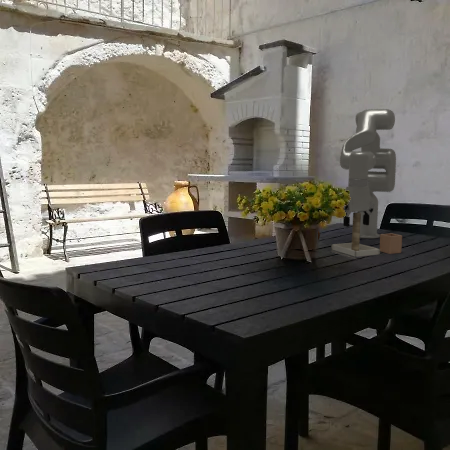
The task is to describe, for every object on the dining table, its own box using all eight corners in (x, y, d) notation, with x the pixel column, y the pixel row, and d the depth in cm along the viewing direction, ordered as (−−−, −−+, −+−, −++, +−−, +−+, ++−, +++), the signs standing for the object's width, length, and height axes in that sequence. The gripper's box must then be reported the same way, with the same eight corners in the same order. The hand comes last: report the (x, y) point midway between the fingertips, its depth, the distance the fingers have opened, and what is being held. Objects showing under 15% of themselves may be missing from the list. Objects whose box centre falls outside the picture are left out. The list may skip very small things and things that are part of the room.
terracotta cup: (379, 253, 213) (380, 234, 211) (390, 252, 215) (391, 233, 214) (389, 256, 207) (390, 236, 206) (401, 255, 210) (402, 235, 208)
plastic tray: (331, 251, 216) (331, 244, 216) (354, 249, 221) (354, 242, 221) (355, 259, 202) (355, 251, 201) (379, 256, 207) (380, 249, 206)
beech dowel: (349, 251, 212) (351, 212, 209) (355, 250, 213) (357, 212, 211) (354, 252, 209) (356, 213, 207) (360, 252, 210) (362, 213, 208)
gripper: (369, 182, 214) (367, 223, 216) (334, 183, 207) (333, 225, 209) (381, 183, 207) (379, 225, 210) (346, 184, 200) (344, 228, 203)
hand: (356, 225), depth 210 cm, fingers open, 9 cm apart
